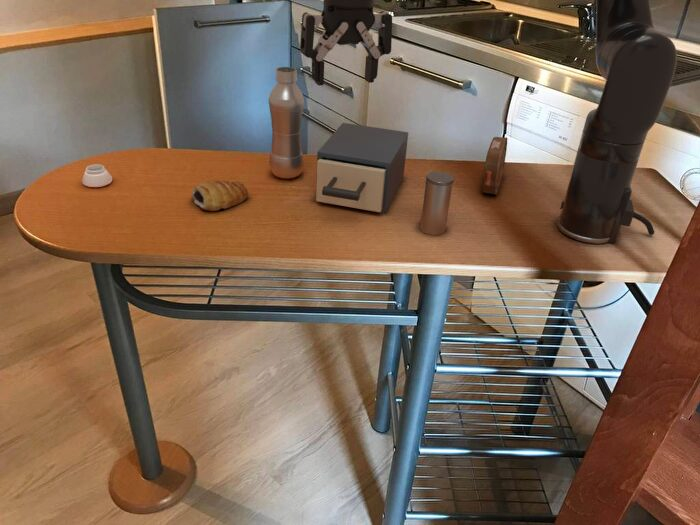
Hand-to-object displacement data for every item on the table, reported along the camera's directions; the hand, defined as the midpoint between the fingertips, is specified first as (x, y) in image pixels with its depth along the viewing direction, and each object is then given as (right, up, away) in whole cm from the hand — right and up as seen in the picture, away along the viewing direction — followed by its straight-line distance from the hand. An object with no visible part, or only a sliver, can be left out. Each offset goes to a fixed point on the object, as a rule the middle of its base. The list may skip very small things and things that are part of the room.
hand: (344, 82), depth 98 cm
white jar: (-44, -14, +13) cm, 48 cm away
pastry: (-22, -18, +9) cm, 30 cm away
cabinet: (+3, -15, +17) cm, 23 cm away
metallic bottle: (-11, -12, +20) cm, 26 cm away
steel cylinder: (+15, -23, +5) cm, 28 cm away
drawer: (+2, -17, +12) cm, 21 cm away
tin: (+28, -14, +22) cm, 38 cm away
